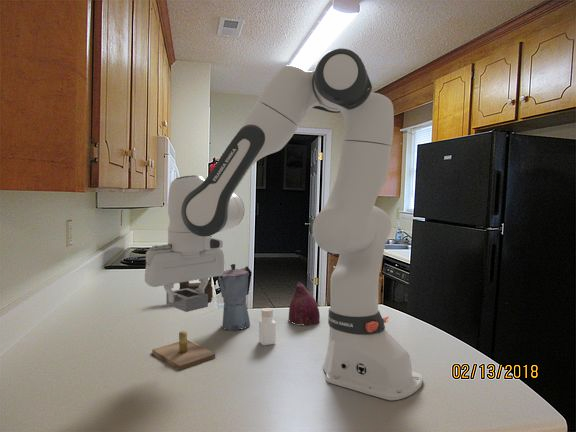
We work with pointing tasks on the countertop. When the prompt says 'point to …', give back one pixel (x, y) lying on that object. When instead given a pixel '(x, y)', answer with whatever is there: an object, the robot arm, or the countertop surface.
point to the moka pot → (235, 297)
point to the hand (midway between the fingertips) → (186, 298)
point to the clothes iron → (194, 286)
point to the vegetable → (303, 307)
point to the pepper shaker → (267, 327)
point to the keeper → (183, 353)
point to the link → (189, 300)
